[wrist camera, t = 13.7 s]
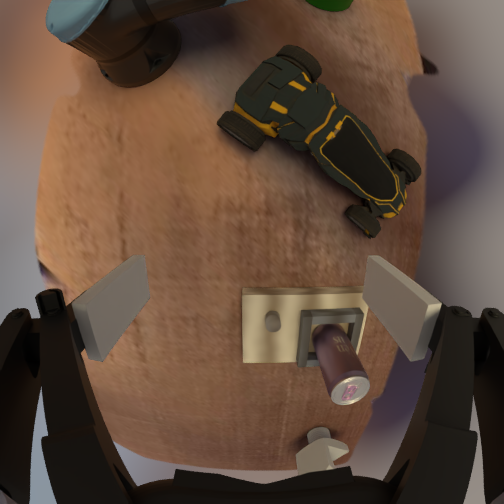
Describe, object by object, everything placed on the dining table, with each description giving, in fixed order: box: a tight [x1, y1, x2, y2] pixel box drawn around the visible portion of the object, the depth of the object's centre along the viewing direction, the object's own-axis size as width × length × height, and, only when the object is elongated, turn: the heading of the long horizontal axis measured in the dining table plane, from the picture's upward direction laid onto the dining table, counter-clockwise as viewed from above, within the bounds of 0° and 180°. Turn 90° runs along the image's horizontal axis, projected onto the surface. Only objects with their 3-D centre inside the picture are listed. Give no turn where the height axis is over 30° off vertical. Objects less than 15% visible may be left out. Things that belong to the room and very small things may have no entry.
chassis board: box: [242, 286, 368, 367], centre depth 45 cm, size 22×14×6 cm, turn 90°
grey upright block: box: [296, 427, 349, 475], centre depth 49 cm, size 9×9×20 cm
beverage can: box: [312, 323, 370, 405], centre depth 38 cm, size 6×6×15 cm
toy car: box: [217, 45, 421, 239], centre depth 35 cm, size 16×32×10 cm, turn 53°
